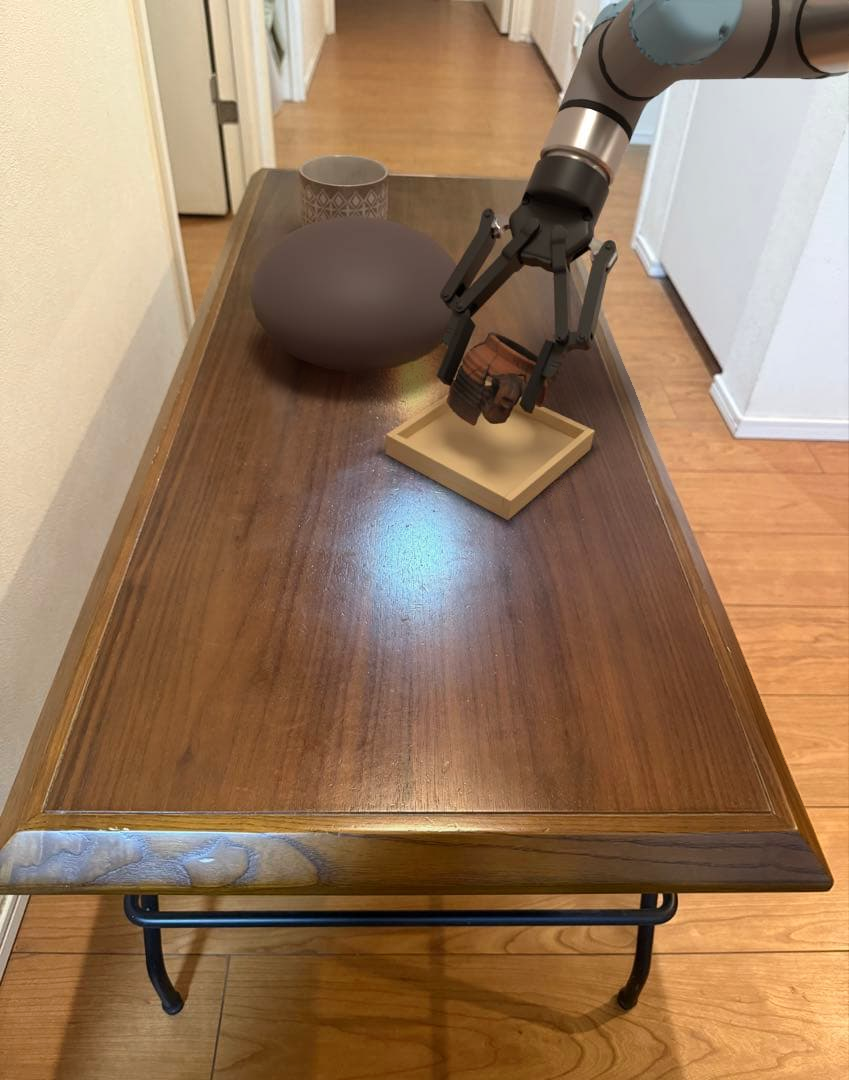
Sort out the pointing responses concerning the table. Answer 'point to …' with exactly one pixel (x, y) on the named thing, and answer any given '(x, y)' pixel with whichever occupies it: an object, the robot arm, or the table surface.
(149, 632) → the table surface
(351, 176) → the planter
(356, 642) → the table surface
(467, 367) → the pottery mug
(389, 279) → the smooth stone
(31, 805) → the table surface
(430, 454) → the wooden tray
